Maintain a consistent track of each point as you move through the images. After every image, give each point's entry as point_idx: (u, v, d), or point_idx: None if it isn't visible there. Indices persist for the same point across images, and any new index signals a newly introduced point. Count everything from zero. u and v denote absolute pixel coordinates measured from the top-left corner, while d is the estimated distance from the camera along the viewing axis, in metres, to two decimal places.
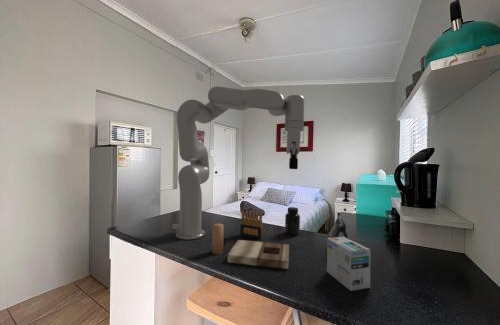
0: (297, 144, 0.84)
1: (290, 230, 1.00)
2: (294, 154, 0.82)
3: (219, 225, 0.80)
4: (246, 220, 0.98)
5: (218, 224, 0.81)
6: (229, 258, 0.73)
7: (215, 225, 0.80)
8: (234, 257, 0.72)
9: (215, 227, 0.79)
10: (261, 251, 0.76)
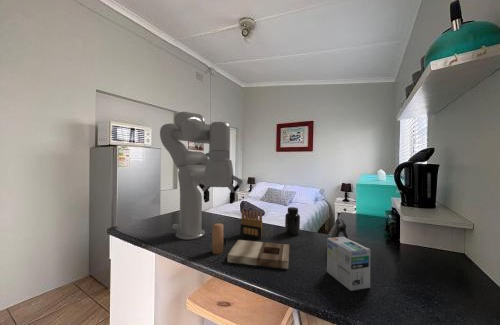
0: None
1: (290, 230, 1.00)
2: (238, 187, 0.79)
3: (219, 225, 0.80)
4: (246, 220, 0.98)
5: (218, 224, 0.81)
6: (229, 258, 0.73)
7: (215, 225, 0.80)
8: (234, 257, 0.72)
9: (215, 227, 0.79)
10: (261, 251, 0.76)
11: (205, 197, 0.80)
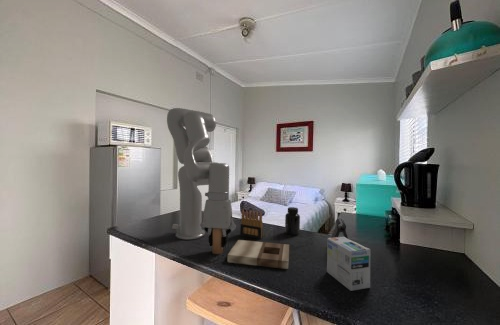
0: None
1: (290, 230, 1.00)
2: (229, 231, 0.80)
3: None
4: (246, 220, 0.98)
5: None
6: (229, 258, 0.73)
7: None
8: (234, 257, 0.72)
9: None
10: (261, 251, 0.76)
11: (210, 241, 0.80)
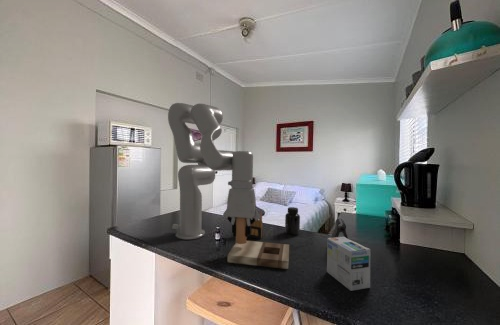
0: (255, 206, 0.79)
1: (290, 230, 1.00)
2: None
3: None
4: None
5: None
6: (229, 258, 0.73)
7: None
8: (234, 257, 0.72)
9: None
10: (261, 251, 0.76)
11: (234, 231, 0.78)
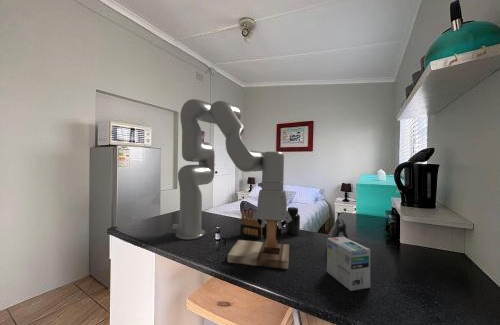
0: None
1: (290, 230, 1.00)
2: None
3: None
4: (246, 220, 0.98)
5: None
6: (229, 258, 0.73)
7: None
8: (234, 257, 0.72)
9: None
10: (261, 251, 0.76)
11: (264, 233, 0.76)
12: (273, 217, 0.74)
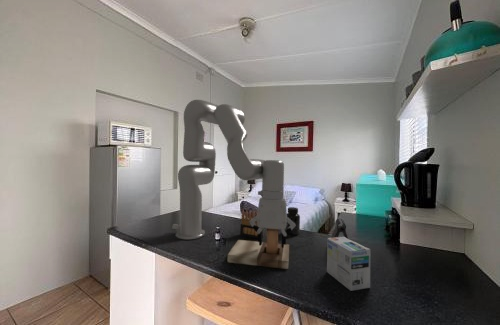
0: None
1: None
2: None
3: (274, 229, 0.76)
4: (246, 220, 0.98)
5: None
6: (229, 258, 0.73)
7: (270, 229, 0.76)
8: (234, 257, 0.72)
9: (270, 232, 0.75)
10: (261, 251, 0.76)
11: (260, 240, 0.76)
12: (273, 226, 0.74)
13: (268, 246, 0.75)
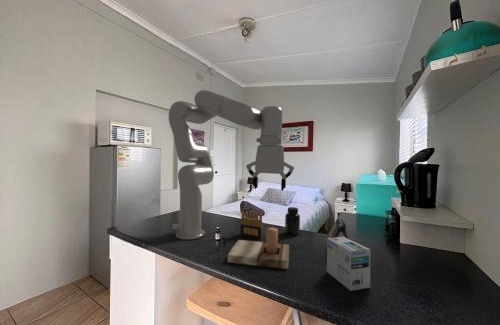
0: None
1: (290, 230, 1.00)
2: (290, 174, 0.77)
3: (274, 229, 0.76)
4: (246, 220, 0.98)
5: (272, 228, 0.77)
6: (229, 258, 0.73)
7: (270, 229, 0.76)
8: (234, 257, 0.72)
9: (270, 232, 0.75)
10: (261, 251, 0.76)
11: (255, 183, 0.78)
12: (270, 170, 0.76)
13: (268, 246, 0.75)
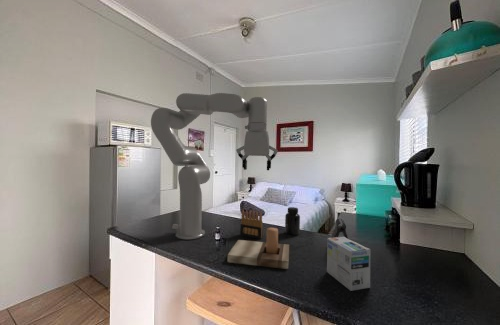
0: None
1: (290, 230, 1.00)
2: (274, 156, 0.89)
3: (274, 230, 0.76)
4: (246, 220, 0.98)
5: (272, 228, 0.77)
6: (229, 258, 0.73)
7: (270, 230, 0.76)
8: (234, 257, 0.72)
9: (270, 232, 0.75)
10: (261, 251, 0.76)
11: (244, 165, 0.89)
12: (257, 152, 0.87)
13: (268, 246, 0.75)
